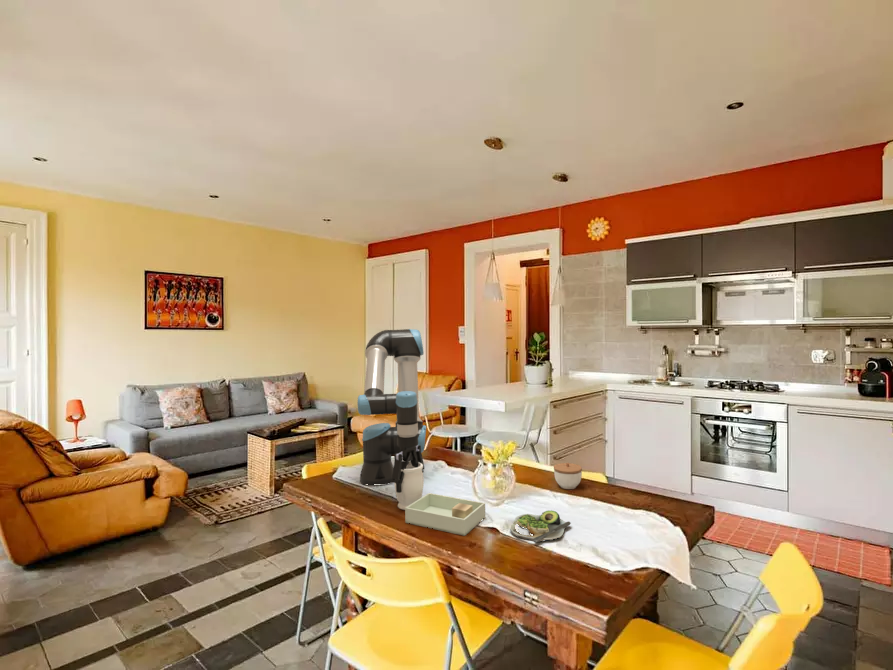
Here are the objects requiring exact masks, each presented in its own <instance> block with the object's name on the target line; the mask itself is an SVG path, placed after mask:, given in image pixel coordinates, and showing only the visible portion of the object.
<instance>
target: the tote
mask: <svg viewBox="0 0 893 670" xmlns="http://www.w3.org/2000/svg"><path fill="white" fill-rule="evenodd" d="M459 503H462V504H467V505H472V506H473V512H472V513H470V514H469V515H468V516H467V517H465V518H464V519H462V518H457V517H452V508H453V507H454V506H456V505H457V504H459ZM404 512H405V513H404V514H405V515H404V516H405V518H404V519H405V520H404V522H405V523H406V524H409V523H410V524H409V525H414V526H419V527H422V528H427V527H428V529H432V528H433V529H432V530H438V531H441V532H447V533H451V534H454V535H460V536H462V537H463V536H467V534H469V533H470V532H471V531H472V530H474V528H476V526H477V525H479V524H480V523H481V522H482V521H483V520H484V519H483V518H484V517H485V518H486V502H481V501H475V500H469V499H465V498H458V497H453V496H448V495H443V494H437V493H430V492H428V493H426V494H425V495H422V497H421V498H420V499H418V500H417V501H415V502H414V503H412V504H411V505H409V506H407V507H406V508H405V510H404ZM482 519H483V520H482ZM481 520H482V521H481ZM480 521H481V522H480ZM479 522H480V523H479Z"/></svg>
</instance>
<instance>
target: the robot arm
mask: <svg viewBox="0 0 893 670" xmlns="http://www.w3.org/2000/svg"><path fill="white" fill-rule="evenodd" d="M421 335H422V334H421V332H420V330H418V329H411V328H407V329H406V328H405V329H404V328H403V329H385V330H381V331H379V332H377V333H376V334H374V335H372V337H371V338H370V339H369V340H368V342H367V344H366V346H365V351H364V355H365V358H366V368H365V369H366V370H365V379H364V392H363V394H359V395H358V397H357V411H358V414H359V415H362V416H372V415H394V414H396V421H395V423H394V424H395V426H391V424H390V423H389V422H380V423H374V424H371V425H369V426H366V427H365V428H364V429H363V431H362V438H361V439H362V440H361V441H362V456H363V460H362V461H363V463H362V466H361V470H360V475H359V483H360V482H361V483H360V484H362V483H363V484H362V485H364V484H368V485H374V484H386V485H389V484H388V483H390V484H392V483H393V484H394V483H396V491H395V493H396V492H397V497H396V501H397V502H399V501H402V502H404V483H402V481H403V478H404V472H403V471H401V469H402V470H404V469H406V466H407V465H408V464H409V461H410V462H411V464H412V466H413V467H418V463H417V462H420V463H422V464H423V468H422V472H423V473H425V472H424V470H425V464H424V459H423V455H422V454H423V452H424V451H425V444H426V435H427V426H426V425H424V424H423V423H424V421H423V420H422V419H421V418H420V408H419V407H420V405H419V379H418V378H419V377H418V373H419V372H418V362H419V361H420V360H421V356H423V355H424V348H423V347H424V346H423V345H424V344H423V339H422V336H421ZM388 357H393V360H394V361H395V362H396V364H397V389H398V391H397V393H384V391H385V373H386V372H385V370H386V369H385V368H386V360H387V358H388ZM392 456H394V458H393V459H394V463H393V461H392ZM368 485H367V486H368Z"/></svg>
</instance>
